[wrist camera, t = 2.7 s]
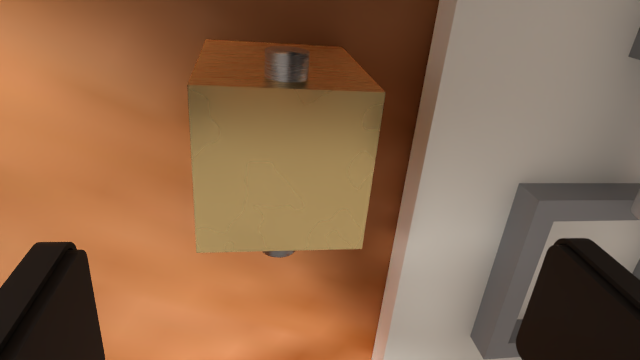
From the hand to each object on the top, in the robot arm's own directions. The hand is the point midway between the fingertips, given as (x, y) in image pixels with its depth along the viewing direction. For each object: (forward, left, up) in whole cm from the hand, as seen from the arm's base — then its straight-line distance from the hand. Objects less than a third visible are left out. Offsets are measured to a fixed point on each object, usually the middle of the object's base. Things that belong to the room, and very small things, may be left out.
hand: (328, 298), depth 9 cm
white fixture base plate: (+6, +14, -10) cm, 19 cm away
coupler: (-1, -1, -10) cm, 10 cm away
